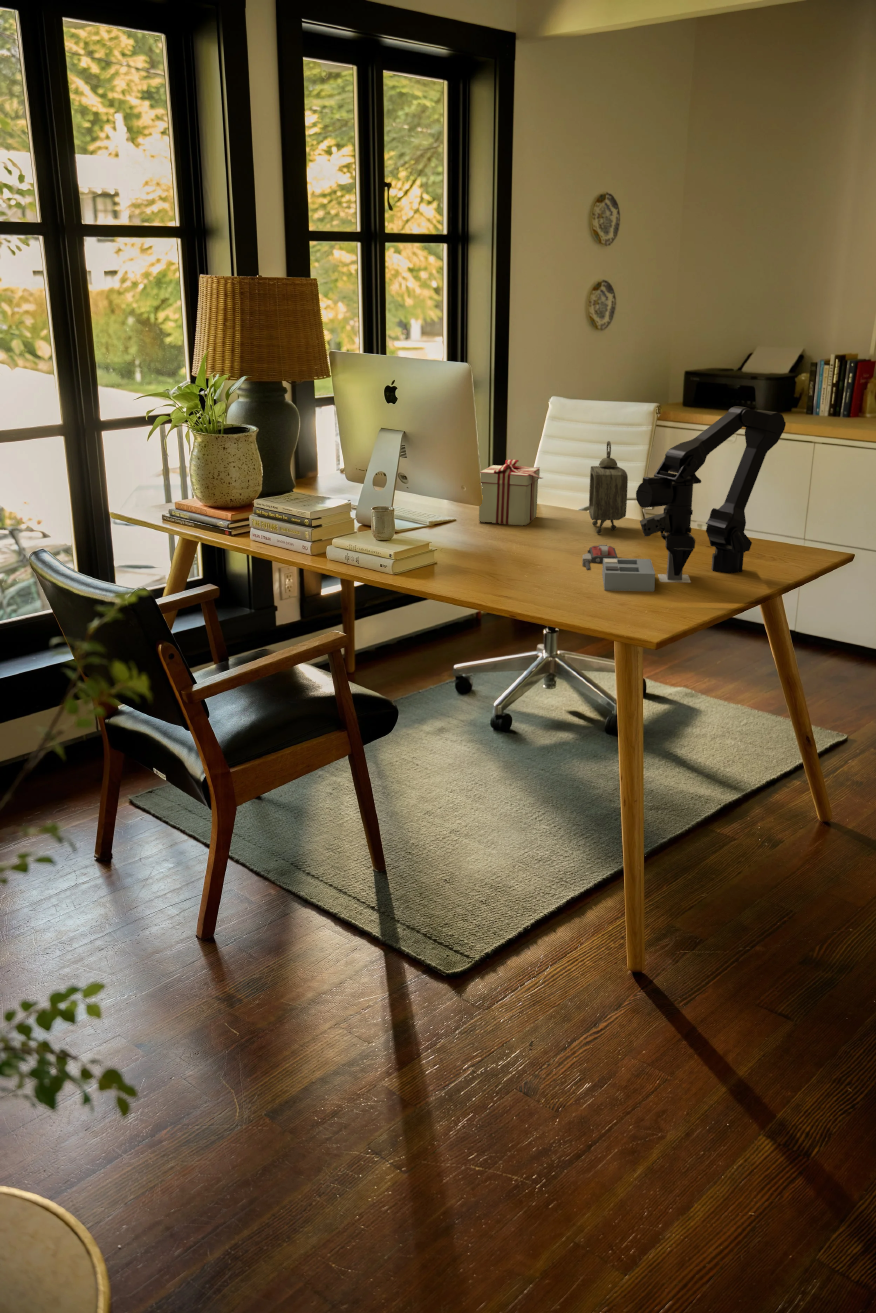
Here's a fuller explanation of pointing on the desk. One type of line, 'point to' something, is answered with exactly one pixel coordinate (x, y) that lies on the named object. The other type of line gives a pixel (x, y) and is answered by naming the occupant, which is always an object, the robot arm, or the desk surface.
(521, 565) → the desk surface
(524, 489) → the gift box
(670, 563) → the plug
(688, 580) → the plate
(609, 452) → the tabletop clock
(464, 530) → the desk surface
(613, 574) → the port block
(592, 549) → the red grey elongated piece
